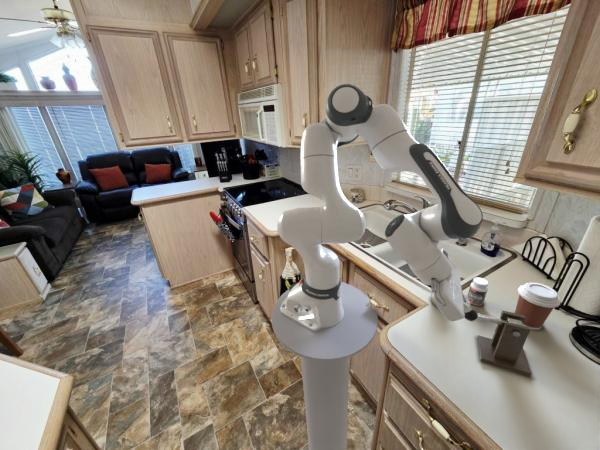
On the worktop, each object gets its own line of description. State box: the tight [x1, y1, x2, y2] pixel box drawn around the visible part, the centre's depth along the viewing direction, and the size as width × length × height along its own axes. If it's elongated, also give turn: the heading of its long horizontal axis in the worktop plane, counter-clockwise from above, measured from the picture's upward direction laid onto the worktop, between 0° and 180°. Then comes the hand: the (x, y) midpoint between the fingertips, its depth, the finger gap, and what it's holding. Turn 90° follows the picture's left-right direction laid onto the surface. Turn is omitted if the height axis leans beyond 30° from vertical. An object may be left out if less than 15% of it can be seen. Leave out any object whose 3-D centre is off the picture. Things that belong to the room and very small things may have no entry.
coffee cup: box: [514, 281, 562, 331], centre depth 73 cm, size 9×9×12 cm
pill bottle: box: [466, 276, 489, 306], centre depth 82 cm, size 5×5×8 cm
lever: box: [464, 307, 523, 326], centre depth 63 cm, size 12×3×3 cm, turn 63°
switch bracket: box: [476, 310, 533, 377], centre depth 63 cm, size 10×8×13 cm
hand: (467, 308), depth 65 cm, fingers closed, pressing on lever
